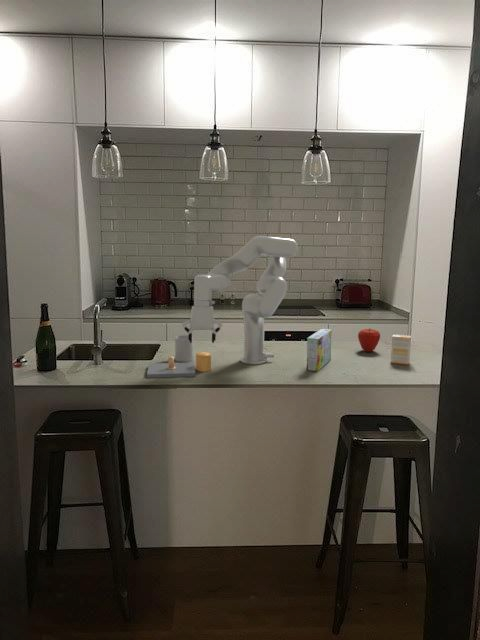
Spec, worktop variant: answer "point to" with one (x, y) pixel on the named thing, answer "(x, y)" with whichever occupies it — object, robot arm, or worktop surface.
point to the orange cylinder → (203, 361)
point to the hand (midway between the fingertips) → (201, 342)
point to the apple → (368, 339)
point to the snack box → (318, 349)
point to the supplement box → (400, 349)
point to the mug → (183, 349)
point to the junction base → (171, 369)
